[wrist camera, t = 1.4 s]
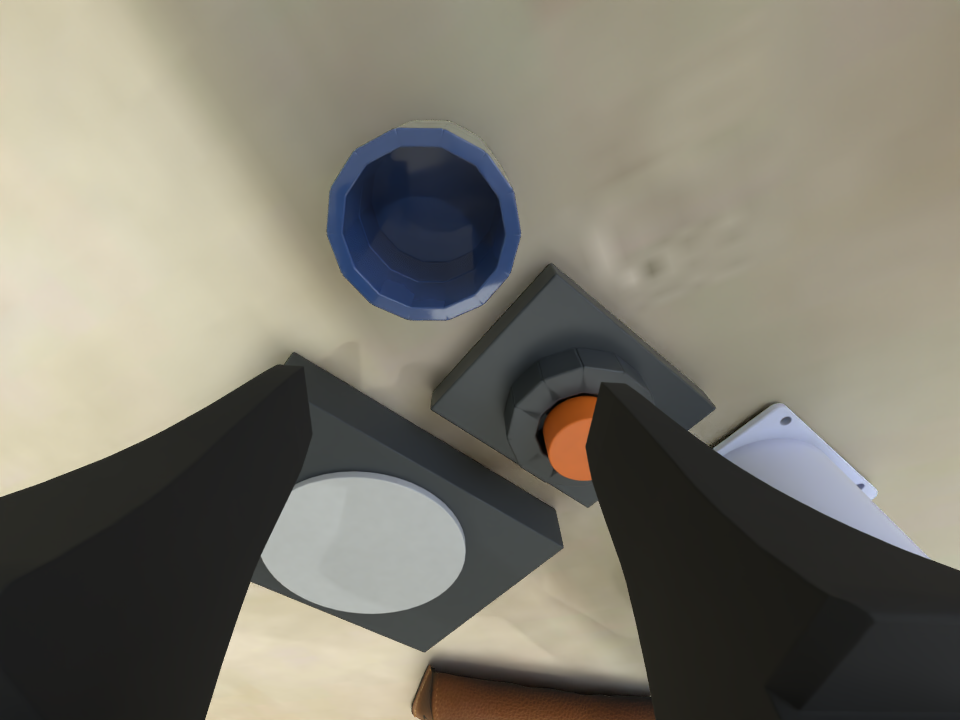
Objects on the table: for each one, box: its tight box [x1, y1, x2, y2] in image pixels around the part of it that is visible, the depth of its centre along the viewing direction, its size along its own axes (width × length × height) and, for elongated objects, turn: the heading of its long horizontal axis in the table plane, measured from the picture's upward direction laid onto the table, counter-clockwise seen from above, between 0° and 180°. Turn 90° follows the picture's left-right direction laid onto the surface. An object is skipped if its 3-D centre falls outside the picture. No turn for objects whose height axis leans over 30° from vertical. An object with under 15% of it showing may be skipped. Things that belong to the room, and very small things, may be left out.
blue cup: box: [326, 120, 521, 320], centre depth 15 cm, size 5×5×5 cm
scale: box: [250, 352, 564, 652], centre depth 24 cm, size 16×12×3 cm
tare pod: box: [431, 263, 716, 508], centre depth 20 cm, size 10×8×3 cm
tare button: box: [543, 396, 597, 481], centre depth 19 cm, size 3×3×2 cm
